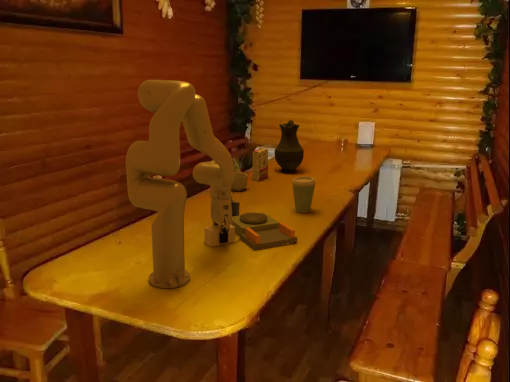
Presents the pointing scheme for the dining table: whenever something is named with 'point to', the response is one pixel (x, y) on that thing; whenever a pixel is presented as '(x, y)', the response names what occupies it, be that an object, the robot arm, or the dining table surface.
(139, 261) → the dining table surface
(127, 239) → the dining table surface
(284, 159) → the pitcher
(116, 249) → the dining table surface
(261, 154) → the candy bar box
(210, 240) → the pale beige box
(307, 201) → the disposable coffee cup
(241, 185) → the teacup
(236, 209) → the flask
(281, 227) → the tray with orange tabs
